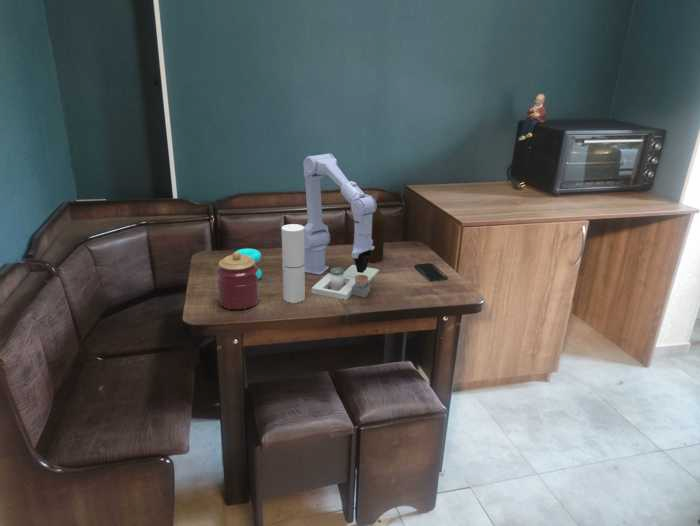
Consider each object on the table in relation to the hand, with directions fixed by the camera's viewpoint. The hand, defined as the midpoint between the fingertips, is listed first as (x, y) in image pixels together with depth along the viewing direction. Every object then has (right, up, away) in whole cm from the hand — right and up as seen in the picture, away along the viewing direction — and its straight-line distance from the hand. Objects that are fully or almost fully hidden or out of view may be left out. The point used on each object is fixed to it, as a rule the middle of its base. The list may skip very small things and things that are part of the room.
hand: (361, 271), depth 179 cm
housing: (-6, -7, +5) cm, 11 cm away
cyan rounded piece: (-41, -3, +13) cm, 43 cm away
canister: (-40, -10, -5) cm, 42 cm away
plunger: (0, -6, +3) cm, 7 cm away
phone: (+27, -2, +21) cm, 34 cm away
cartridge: (-9, -6, +6) cm, 12 cm away
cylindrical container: (-23, -9, -2) cm, 25 cm away
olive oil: (+4, +4, +33) cm, 34 cm away
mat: (0, -2, +18) cm, 18 cm away
